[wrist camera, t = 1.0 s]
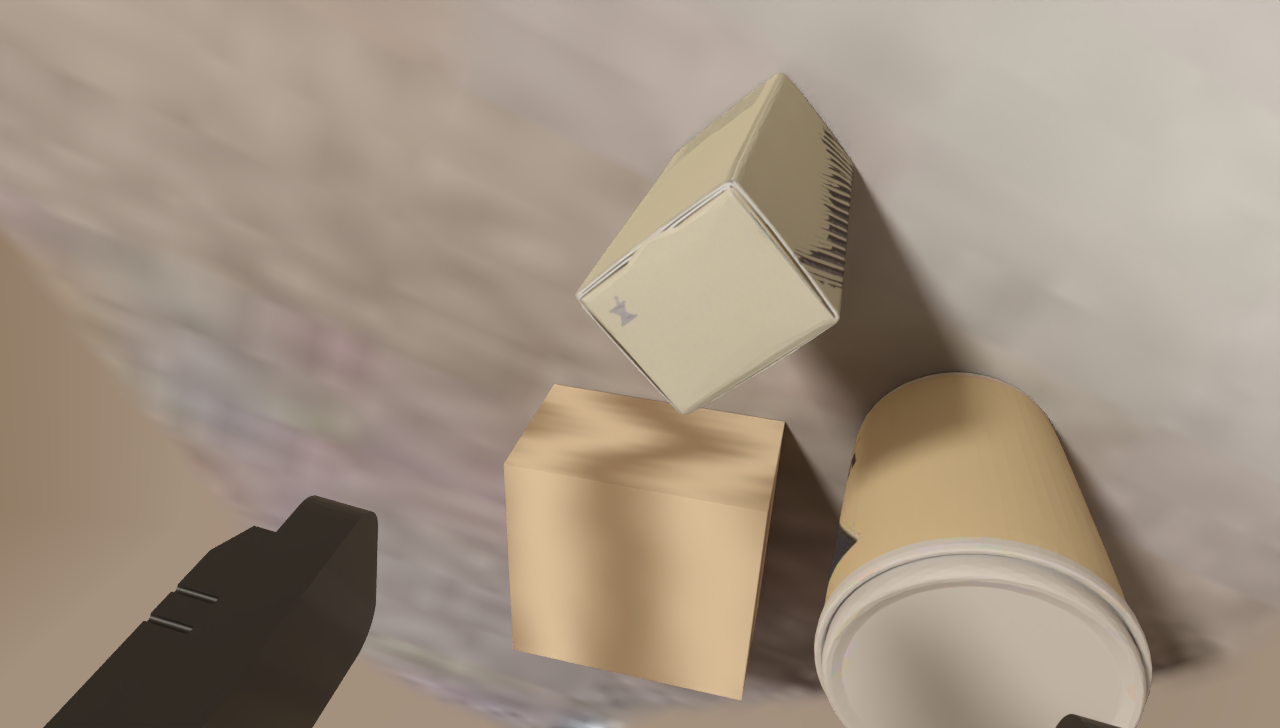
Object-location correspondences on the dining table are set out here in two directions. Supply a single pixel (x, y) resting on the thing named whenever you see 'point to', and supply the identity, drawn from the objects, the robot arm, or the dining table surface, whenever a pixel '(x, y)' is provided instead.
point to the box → (730, 251)
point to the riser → (640, 536)
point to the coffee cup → (972, 573)
